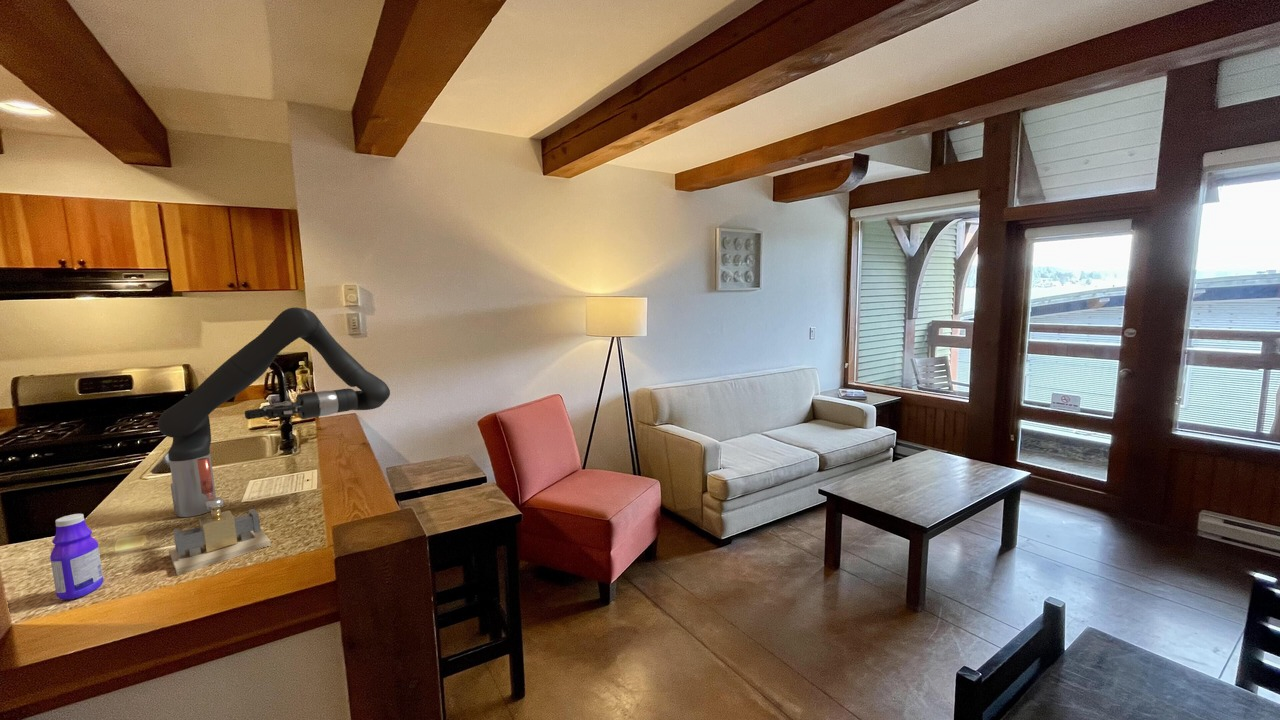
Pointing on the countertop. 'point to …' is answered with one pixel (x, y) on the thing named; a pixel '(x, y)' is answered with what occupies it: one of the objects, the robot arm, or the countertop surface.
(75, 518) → the bottle
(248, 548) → the valve board
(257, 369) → the robot arm
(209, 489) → the valve lever
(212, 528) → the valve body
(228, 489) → the countertop surface
